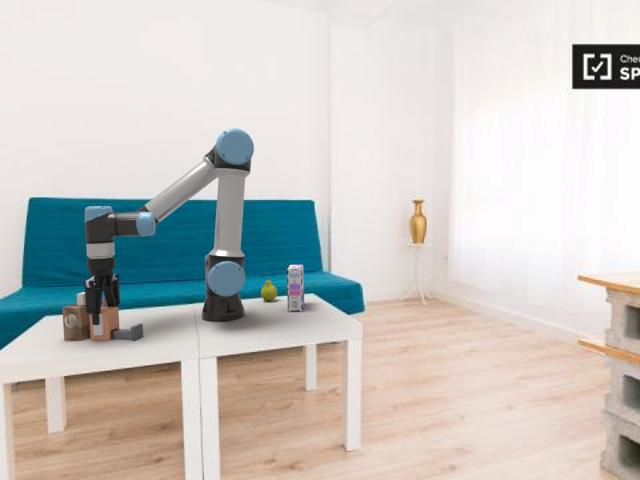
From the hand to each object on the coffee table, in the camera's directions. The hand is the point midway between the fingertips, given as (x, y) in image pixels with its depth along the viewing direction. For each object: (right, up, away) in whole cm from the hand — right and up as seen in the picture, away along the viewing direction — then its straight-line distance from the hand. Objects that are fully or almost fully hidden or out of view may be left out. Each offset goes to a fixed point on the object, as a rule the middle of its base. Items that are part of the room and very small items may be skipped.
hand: (105, 331), depth 127 cm
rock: (-11, -1, +17) cm, 21 cm away
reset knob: (-7, +8, 0) cm, 11 cm away
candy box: (+57, +1, +36) cm, 67 cm away
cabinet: (-8, -2, +1) cm, 8 cm away
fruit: (+45, +2, +49) cm, 66 cm away
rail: (+2, -2, 0) cm, 3 cm away
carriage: (0, -2, 0) cm, 2 cm away
